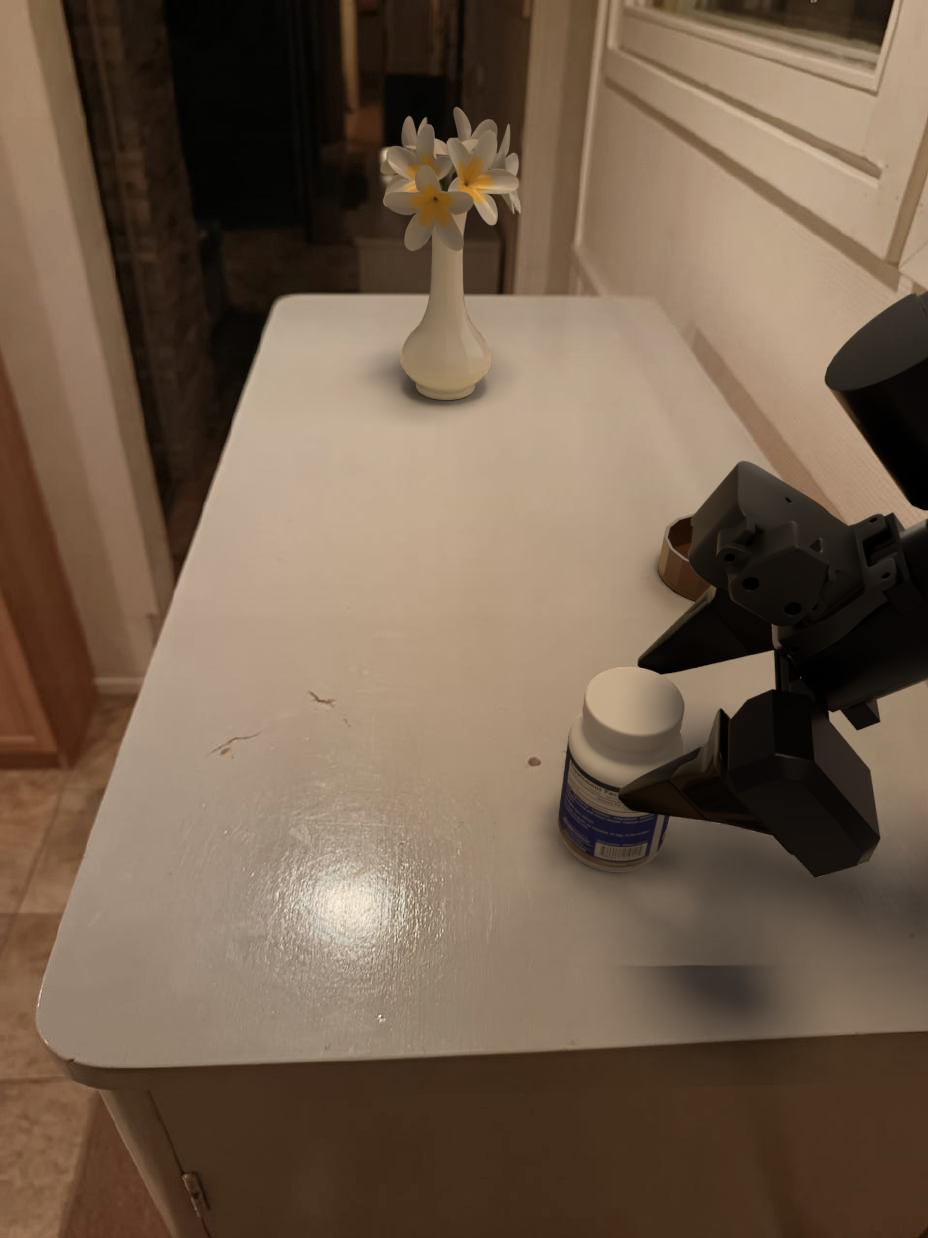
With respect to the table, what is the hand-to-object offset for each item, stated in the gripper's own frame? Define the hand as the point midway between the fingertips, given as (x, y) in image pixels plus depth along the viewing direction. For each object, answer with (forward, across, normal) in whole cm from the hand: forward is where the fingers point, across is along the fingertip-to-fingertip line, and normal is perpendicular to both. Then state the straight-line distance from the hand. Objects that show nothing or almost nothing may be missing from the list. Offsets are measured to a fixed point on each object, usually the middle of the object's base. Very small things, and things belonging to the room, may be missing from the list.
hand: (633, 729), depth 43 cm
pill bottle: (+6, 0, +6) cm, 8 cm away
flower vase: (+22, -52, -10) cm, 58 cm away
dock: (+2, -26, +9) cm, 28 cm away
